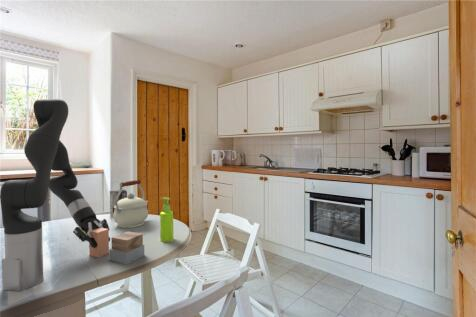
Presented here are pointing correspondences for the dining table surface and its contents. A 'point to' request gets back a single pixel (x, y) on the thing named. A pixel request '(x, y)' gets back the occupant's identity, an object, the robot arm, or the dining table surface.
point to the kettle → (130, 208)
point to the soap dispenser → (166, 222)
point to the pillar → (100, 242)
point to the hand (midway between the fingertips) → (102, 244)
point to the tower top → (127, 241)
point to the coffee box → (113, 197)
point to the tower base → (126, 255)
